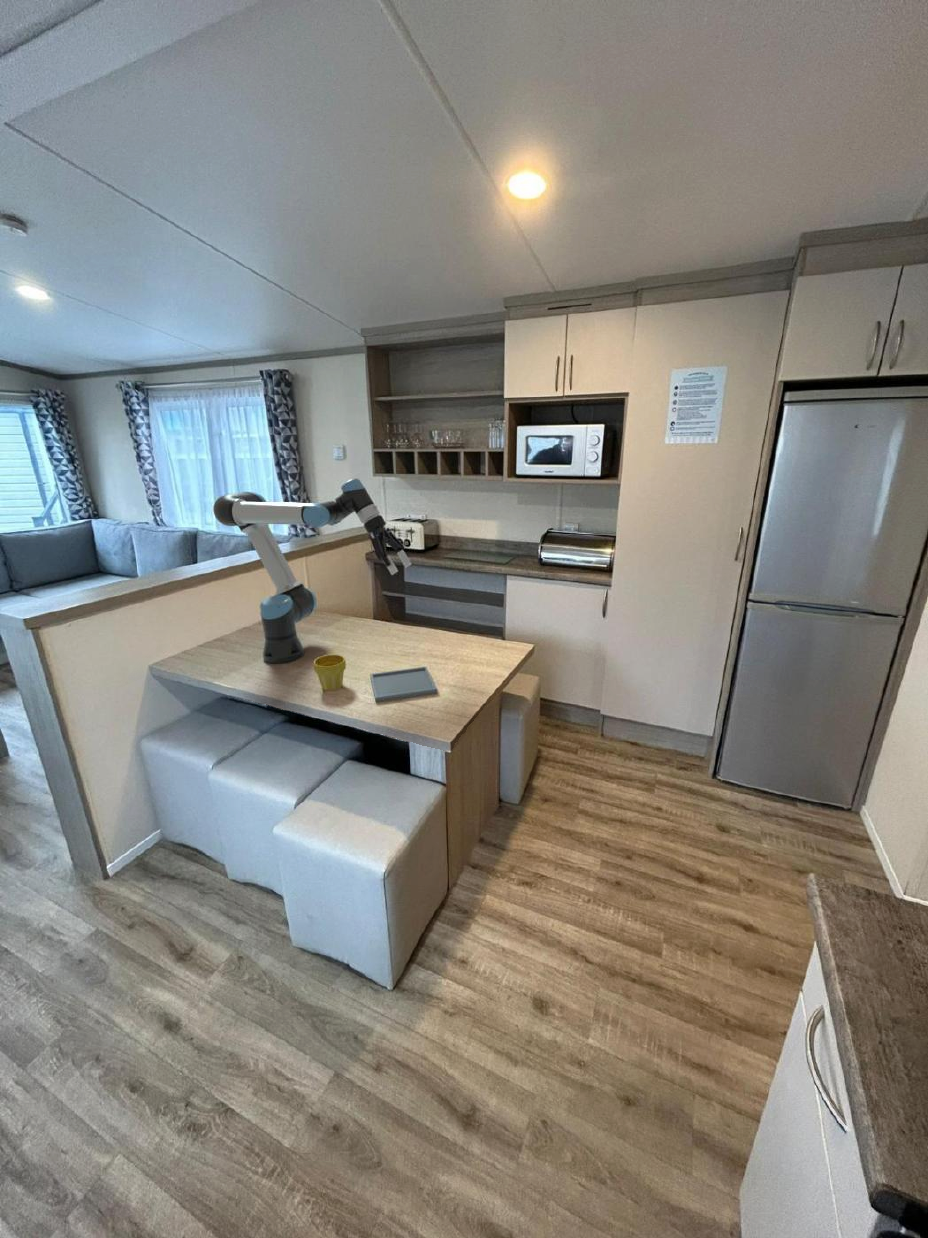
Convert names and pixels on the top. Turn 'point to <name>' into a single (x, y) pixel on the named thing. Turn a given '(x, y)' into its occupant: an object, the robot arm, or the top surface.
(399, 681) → the charcoal tray
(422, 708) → the top surface
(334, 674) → the plant pot
